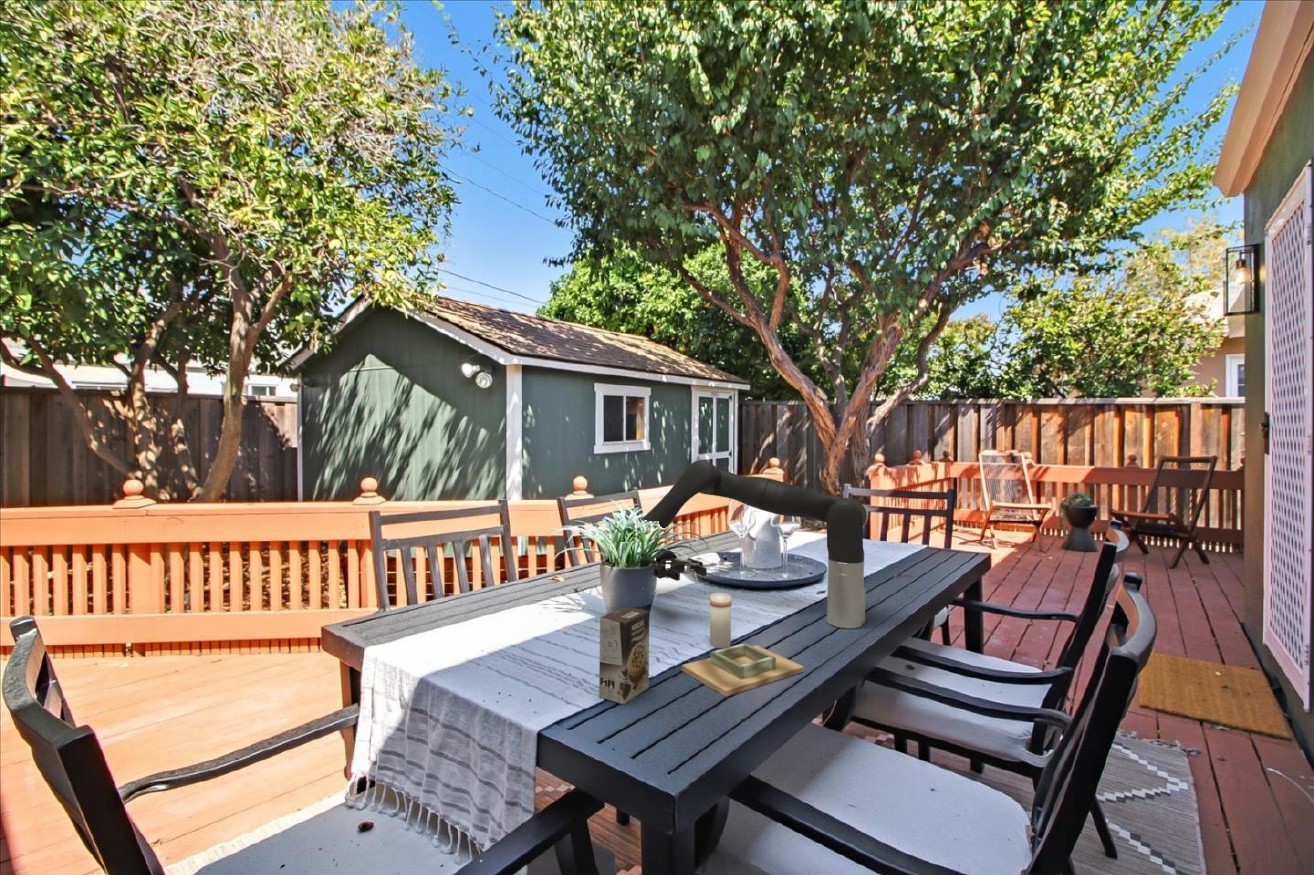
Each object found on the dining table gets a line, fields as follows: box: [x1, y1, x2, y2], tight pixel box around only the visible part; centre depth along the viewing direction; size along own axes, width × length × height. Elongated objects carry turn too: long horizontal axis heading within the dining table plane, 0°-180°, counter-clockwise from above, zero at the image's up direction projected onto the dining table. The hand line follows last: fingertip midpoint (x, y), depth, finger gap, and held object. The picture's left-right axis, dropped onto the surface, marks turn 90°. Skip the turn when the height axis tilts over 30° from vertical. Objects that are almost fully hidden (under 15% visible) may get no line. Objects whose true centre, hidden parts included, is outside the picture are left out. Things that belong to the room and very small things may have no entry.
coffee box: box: [598, 606, 650, 705], centre depth 128 cm, size 9×6×16 cm
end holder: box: [681, 642, 805, 697], centre depth 139 cm, size 22×15×4 cm
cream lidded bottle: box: [709, 592, 733, 649], centre depth 155 cm, size 5×5×12 cm
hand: (692, 574), depth 164 cm, fingers open, 8 cm apart
